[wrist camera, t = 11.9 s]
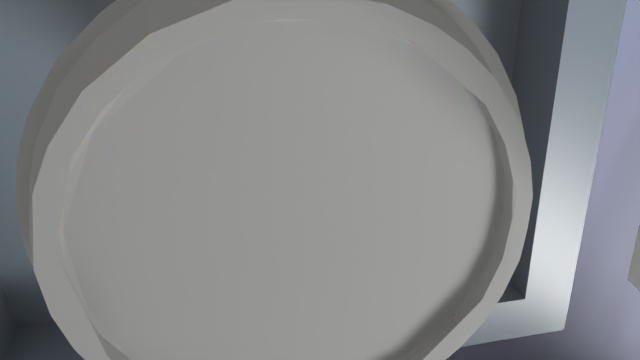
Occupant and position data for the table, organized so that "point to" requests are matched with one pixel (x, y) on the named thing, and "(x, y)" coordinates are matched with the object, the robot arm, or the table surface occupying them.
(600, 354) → the table surface
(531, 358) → the table surface
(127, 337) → the disposable coffee cup
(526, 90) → the tray
